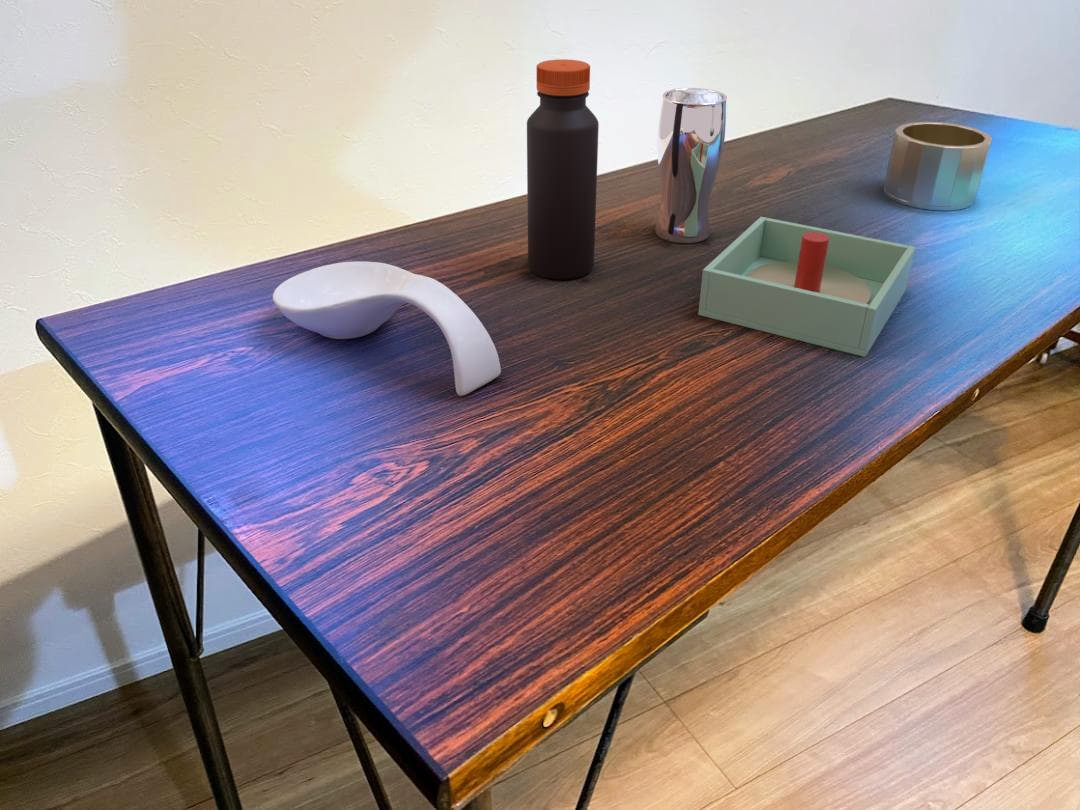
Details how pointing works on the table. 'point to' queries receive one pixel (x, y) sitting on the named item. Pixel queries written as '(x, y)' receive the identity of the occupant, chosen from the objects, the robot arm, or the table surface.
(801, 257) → the lid
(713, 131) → the silver metal tumbler
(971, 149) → the pot
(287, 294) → the spoon rest
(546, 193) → the bottle
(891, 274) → the tray
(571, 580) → the table surface
